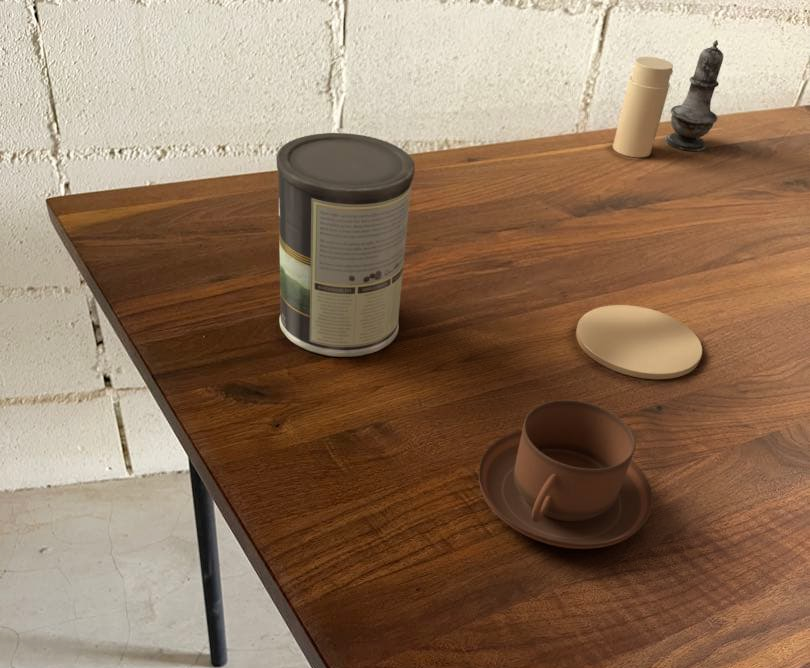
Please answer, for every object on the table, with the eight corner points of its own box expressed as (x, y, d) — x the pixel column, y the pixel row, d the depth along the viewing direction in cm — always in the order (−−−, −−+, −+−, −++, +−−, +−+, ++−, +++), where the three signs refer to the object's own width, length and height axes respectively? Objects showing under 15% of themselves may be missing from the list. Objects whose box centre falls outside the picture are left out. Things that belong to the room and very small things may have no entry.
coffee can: (255, 333, 74) (249, 163, 64) (317, 282, 81) (320, 121, 71) (364, 372, 71) (375, 201, 61) (419, 316, 78) (437, 154, 68)
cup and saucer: (646, 580, 57) (675, 510, 53) (464, 545, 58) (478, 474, 54) (643, 464, 66) (668, 396, 62) (484, 435, 67) (498, 366, 62)
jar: (656, 150, 111) (681, 63, 104) (641, 160, 108) (665, 72, 101) (621, 138, 113) (643, 53, 106) (606, 149, 110) (627, 61, 103)
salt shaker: (655, 142, 113) (684, 38, 104) (672, 130, 116) (702, 29, 108) (698, 156, 111) (731, 51, 102) (714, 143, 114) (748, 41, 106)
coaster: (720, 344, 79) (723, 338, 79) (665, 396, 73) (667, 389, 72) (613, 297, 83) (615, 291, 83) (552, 342, 77) (553, 335, 76)
